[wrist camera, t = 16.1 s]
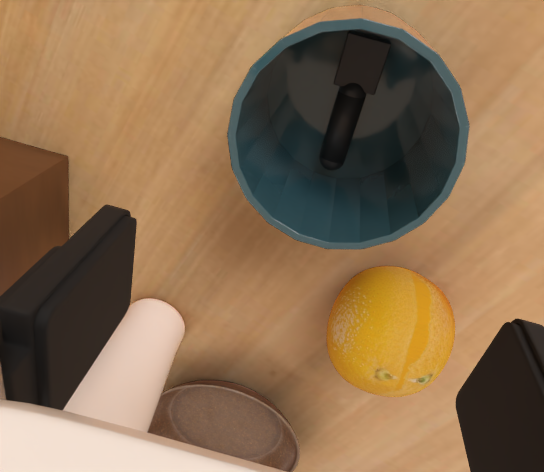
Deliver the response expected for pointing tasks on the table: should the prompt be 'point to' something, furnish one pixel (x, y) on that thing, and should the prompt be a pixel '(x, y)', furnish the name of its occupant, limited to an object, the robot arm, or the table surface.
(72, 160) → the table surface
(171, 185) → the table surface
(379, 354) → the fruit
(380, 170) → the tumbler
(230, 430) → the saucer
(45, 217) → the stand
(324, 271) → the table surface
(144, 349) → the tall white cup
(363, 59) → the dark grey mallet
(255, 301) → the table surface
